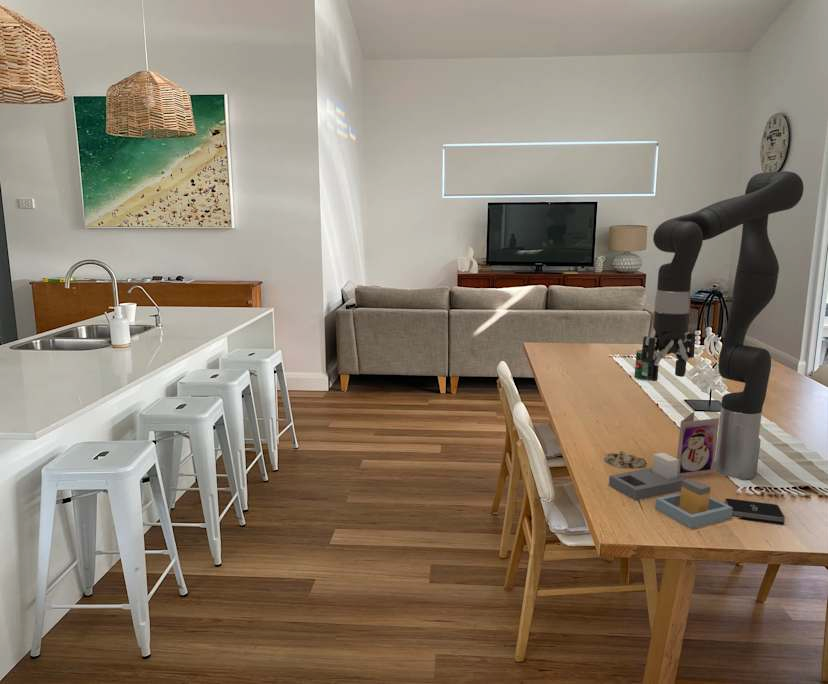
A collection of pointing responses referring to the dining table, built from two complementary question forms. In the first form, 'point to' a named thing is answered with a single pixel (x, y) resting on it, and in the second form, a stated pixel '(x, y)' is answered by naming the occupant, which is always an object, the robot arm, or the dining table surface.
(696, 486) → the block
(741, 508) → the external hard drive
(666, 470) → the block
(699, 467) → the greeting card
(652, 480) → the fuse holder
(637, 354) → the canned tomato
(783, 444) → the dining table surface
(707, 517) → the parts tray
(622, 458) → the mineral rock
